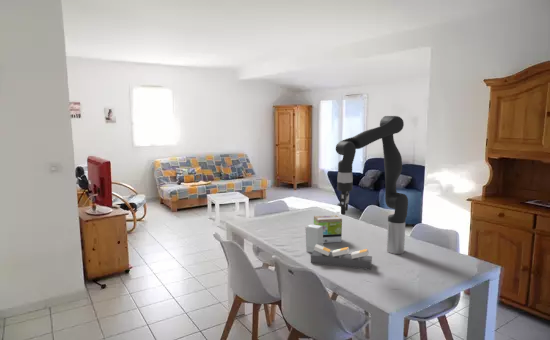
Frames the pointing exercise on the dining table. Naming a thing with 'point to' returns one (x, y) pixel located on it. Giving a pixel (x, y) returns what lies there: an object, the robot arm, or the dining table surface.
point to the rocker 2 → (340, 251)
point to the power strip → (342, 260)
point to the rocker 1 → (322, 249)
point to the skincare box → (313, 237)
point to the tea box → (330, 227)
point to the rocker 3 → (359, 253)
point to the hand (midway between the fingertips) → (344, 212)
